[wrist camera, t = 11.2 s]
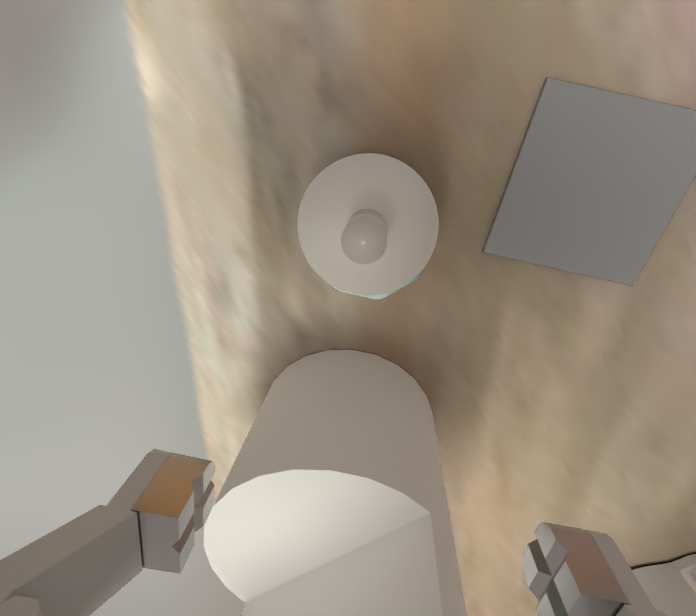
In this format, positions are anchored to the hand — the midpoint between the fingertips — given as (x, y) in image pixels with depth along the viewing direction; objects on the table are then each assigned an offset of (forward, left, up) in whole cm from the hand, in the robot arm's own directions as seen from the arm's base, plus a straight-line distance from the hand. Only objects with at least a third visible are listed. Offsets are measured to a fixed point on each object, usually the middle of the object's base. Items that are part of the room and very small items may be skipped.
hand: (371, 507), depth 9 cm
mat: (-14, -8, -23) cm, 28 cm away
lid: (+2, -3, -18) cm, 18 cm away
